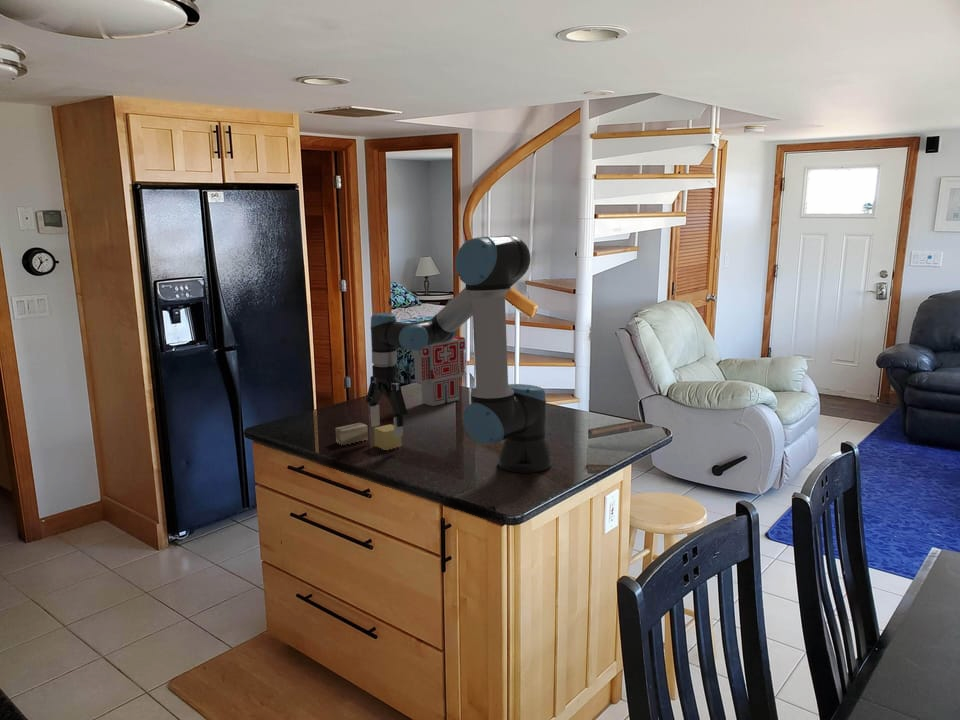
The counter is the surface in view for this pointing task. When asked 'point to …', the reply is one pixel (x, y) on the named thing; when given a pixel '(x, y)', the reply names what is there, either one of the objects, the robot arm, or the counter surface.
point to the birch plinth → (351, 433)
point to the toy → (440, 370)
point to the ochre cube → (386, 437)
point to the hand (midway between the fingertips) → (386, 431)
